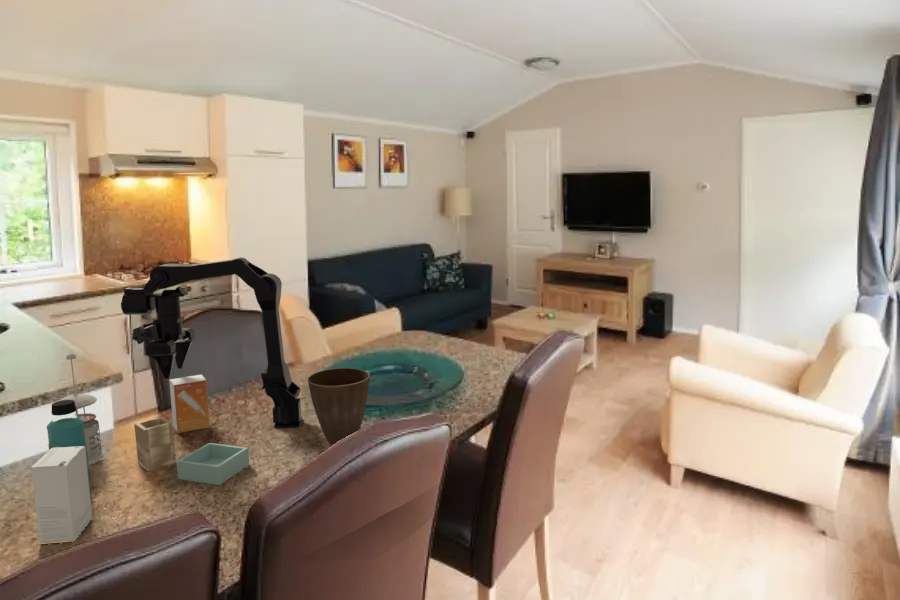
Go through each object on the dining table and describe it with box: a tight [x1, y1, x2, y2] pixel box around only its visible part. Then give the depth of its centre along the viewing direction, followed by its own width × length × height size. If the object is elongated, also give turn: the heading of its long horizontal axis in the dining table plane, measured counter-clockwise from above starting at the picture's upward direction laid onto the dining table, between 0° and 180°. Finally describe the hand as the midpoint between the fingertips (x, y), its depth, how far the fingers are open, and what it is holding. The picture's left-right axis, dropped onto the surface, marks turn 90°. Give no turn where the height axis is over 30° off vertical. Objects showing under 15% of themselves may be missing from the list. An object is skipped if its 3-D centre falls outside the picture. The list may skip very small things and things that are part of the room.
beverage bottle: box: [46, 399, 92, 488], centre depth 121 cm, size 6×7×20 cm
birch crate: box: [133, 416, 177, 472], centre depth 138 cm, size 6×6×10 cm
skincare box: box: [30, 446, 93, 544], centre depth 108 cm, size 8×6×15 cm
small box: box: [169, 374, 211, 434], centre depth 159 cm, size 8×6×13 cm
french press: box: [59, 353, 107, 465], centre depth 140 cm, size 10×12×25 cm
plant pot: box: [307, 367, 371, 444], centre depth 150 cm, size 15×15×16 cm
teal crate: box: [176, 442, 250, 486], centre depth 133 cm, size 10×10×4 cm
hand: (173, 373), depth 158 cm, fingers open, 9 cm apart
